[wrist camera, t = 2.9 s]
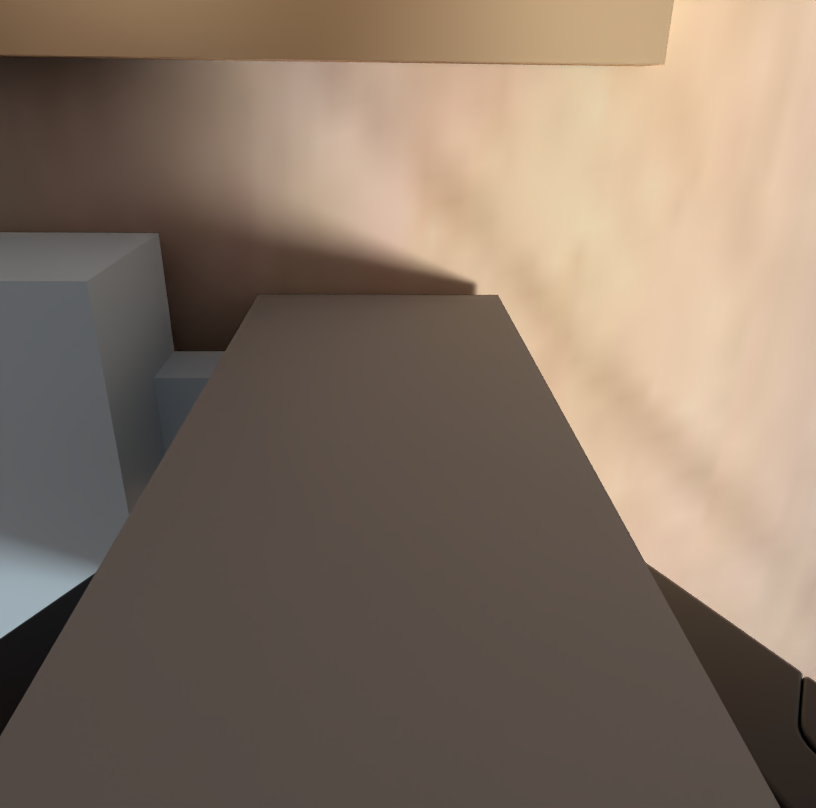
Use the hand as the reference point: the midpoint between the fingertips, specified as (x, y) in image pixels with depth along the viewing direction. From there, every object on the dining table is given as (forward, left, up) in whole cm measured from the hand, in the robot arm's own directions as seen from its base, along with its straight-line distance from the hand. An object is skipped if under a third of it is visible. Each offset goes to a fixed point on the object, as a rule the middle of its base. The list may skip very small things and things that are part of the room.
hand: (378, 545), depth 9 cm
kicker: (+2, 0, -4) cm, 5 cm away
